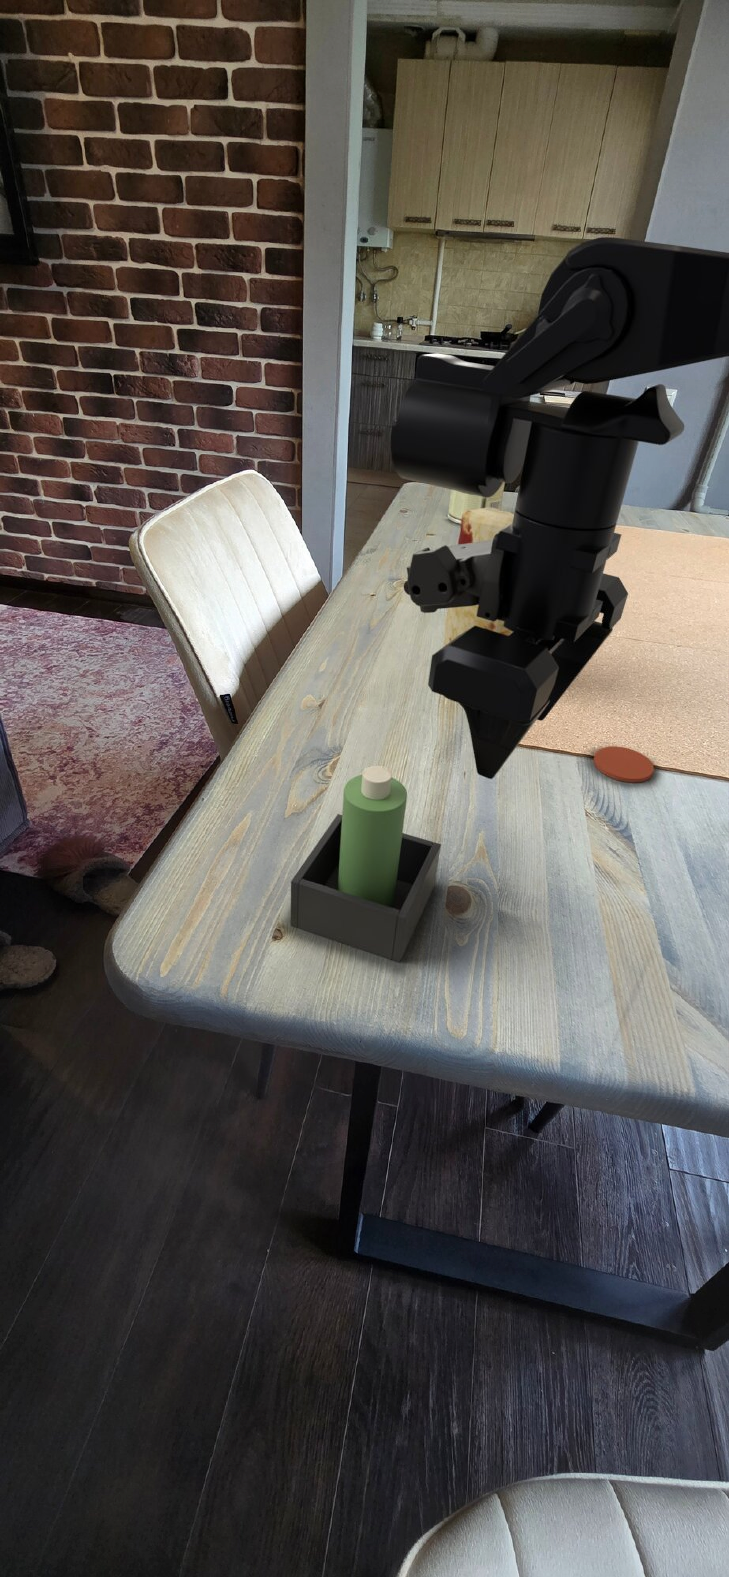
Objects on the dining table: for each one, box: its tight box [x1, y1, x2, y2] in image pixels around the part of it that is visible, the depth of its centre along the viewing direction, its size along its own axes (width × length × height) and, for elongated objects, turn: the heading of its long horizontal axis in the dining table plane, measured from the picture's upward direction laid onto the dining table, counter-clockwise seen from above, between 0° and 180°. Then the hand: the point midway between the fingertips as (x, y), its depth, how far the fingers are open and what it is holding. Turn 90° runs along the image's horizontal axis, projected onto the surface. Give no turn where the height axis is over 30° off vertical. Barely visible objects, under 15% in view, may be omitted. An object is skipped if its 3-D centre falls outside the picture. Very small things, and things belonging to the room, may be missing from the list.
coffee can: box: [447, 482, 506, 525], centre depth 142 cm, size 10×10×14 cm
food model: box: [443, 507, 514, 647], centre depth 85 cm, size 10×7×20 cm
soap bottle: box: [338, 765, 408, 908], centre depth 54 cm, size 4×4×12 cm
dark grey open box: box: [290, 813, 442, 964], centre depth 56 cm, size 9×9×5 cm
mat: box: [593, 746, 655, 784], centre depth 76 cm, size 6×6×1 cm
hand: (512, 745), depth 51 cm, fingers open, 9 cm apart
